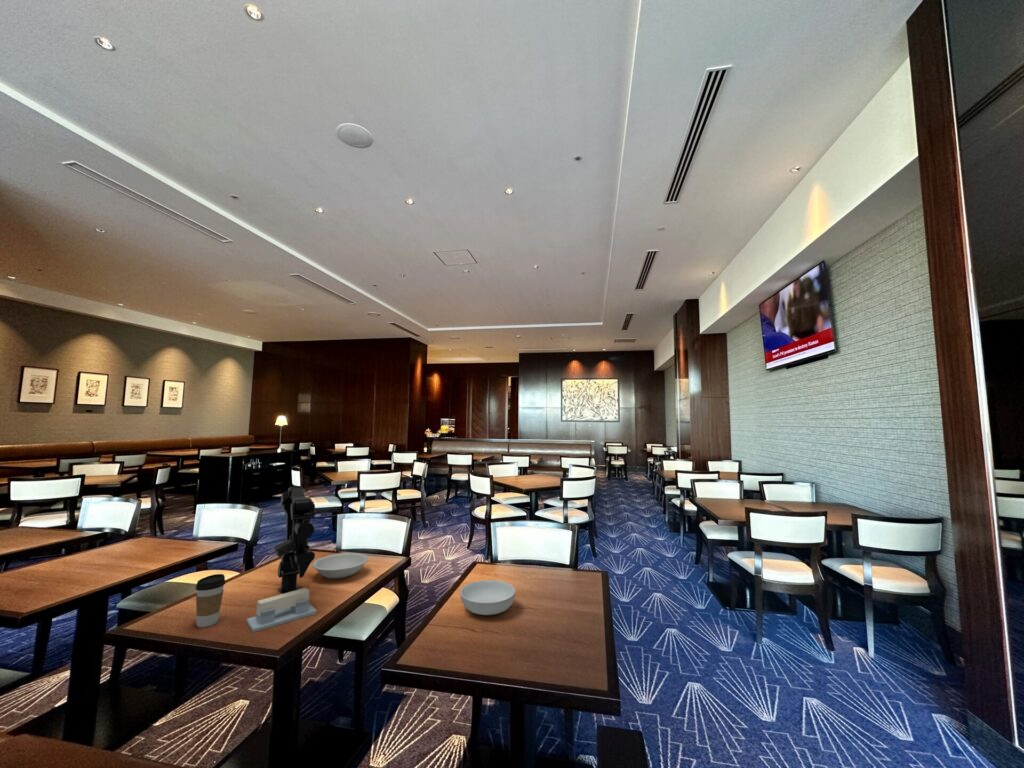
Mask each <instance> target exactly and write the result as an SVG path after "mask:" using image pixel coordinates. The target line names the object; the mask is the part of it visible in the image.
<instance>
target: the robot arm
mask: <svg viewBox="0 0 1024 768" xmlns="http://www.w3.org/2000/svg"><path fill="white" fill-rule="evenodd" d="M315 505H316V504H315V503H314V501H313V500H312V498H311V497H307V496H305V491H304V490H303V486H301V485H300V486H299V485H298V486H297V485H295V486H290V487H288V489H287V490H286V491H284V492H283V493H282V494H281V496H280V506H281V507H282V508H281V509H282V511H283V513H284V514H285V519H286V520H285V541H282V542H280V543H278V544H275V546H274V547H273V549H274V551H275V554H276V556H277V557H279V558H280V562H279V564H278V567H277V576H278V578H280V579H281V585H280V587H278V588H277V590H278V591H279V592H280V593H281V594H284V593H288V592H292V591H295V590H299V589H300V587H299V586H298V585H297V584H298V582H297V581H298V576H299V579H301V578H304V576H305V574H306V572H307V571H308V568H309V567H310V565H311V564H312V563H313V562H314V560H315V559H316V553H315V552H314V551H312V550H311V548H310V545H309V539H310V538H311V536H312V535H313V534H314V532H315V527H314V525H313V523H312V522H311V519H315V516H316V514H317V512H316V506H315Z"/></svg>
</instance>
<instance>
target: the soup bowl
mask: <svg viewBox="0 0 1024 768" xmlns="http://www.w3.org/2000/svg"><path fill="white" fill-rule="evenodd" d="M368 561H369V557H368V556H367V555H366V554H363V553H356V552H344V553H336V554H330V555H326V556H322V557H319V558H318V559H316V560H313V561H312V562H311V567H312V568H313V569H315V570H316V571H317V573H318V574H319V575H320V576H322V577H325V578H328V579H342V578H347V577H350V576H353V575H355V574H356V573H358V572H359V571H360V570H361V569H362V568H363V566H364V565H365V564H366V563H367V562H368Z"/></svg>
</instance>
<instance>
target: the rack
mask: <svg viewBox="0 0 1024 768" xmlns="http://www.w3.org/2000/svg"><path fill="white" fill-rule="evenodd" d="M255 611H256V612H255V616H252V617H249V618H246V623H247V625H248V626H249V628H250V629H251V631H252V633H255V632H259V631H263V630H265V629H269V628H271V627H275V626H279V625H283V624H285V623H289V622H293V621H296V620H300V619H303V618H306V617H310V616H312V615H313V616H314V615H316V614H317V612H318V611H317V609H316V608H315V607H313V605H312V604H310V598H309V599H306V600H302V601H299V602H296V606H292V607H289V608H285V609H282V610H279V611H275V608H272V609H269V610H265V611H261V616H259V615H258V614H257V608H256V610H255Z"/></svg>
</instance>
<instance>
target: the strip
mask: <svg viewBox="0 0 1024 768" xmlns="http://www.w3.org/2000/svg"><path fill="white" fill-rule="evenodd" d="M306 599H309V600H310V589H308V588H307V587H303V588H299V590H295V591H291V592H287V593H281V594H277V595H275V596H270V597H267V598H263V599H260V600H257V601H256V602H257V603H256V609H257V610H256V611H257V614H258V615H259V616H261V611H265V610H269V609H272V608H275V611H279V610H282V609H285V608H289V607H292V606H296V602H299V601H302V600H306Z"/></svg>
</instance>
